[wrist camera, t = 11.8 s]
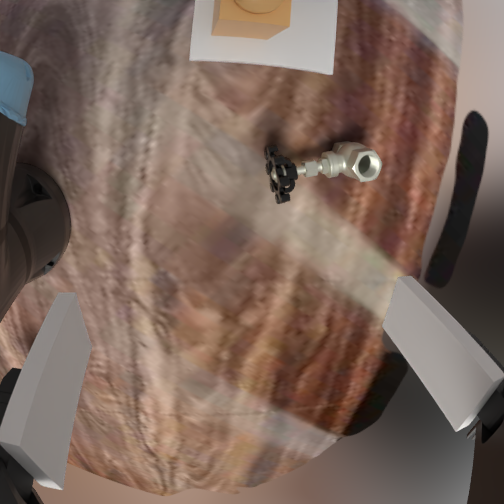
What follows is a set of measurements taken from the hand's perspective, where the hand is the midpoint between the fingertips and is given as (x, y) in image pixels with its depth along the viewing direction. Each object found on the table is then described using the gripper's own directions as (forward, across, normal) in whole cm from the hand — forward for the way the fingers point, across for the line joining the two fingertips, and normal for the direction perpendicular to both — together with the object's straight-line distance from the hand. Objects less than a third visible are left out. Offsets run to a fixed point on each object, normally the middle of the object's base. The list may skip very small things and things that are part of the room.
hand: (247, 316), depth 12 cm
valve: (+27, +12, +1) cm, 30 cm away
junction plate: (+27, +6, +20) cm, 34 cm away
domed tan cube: (+25, +3, +18) cm, 31 cm away
